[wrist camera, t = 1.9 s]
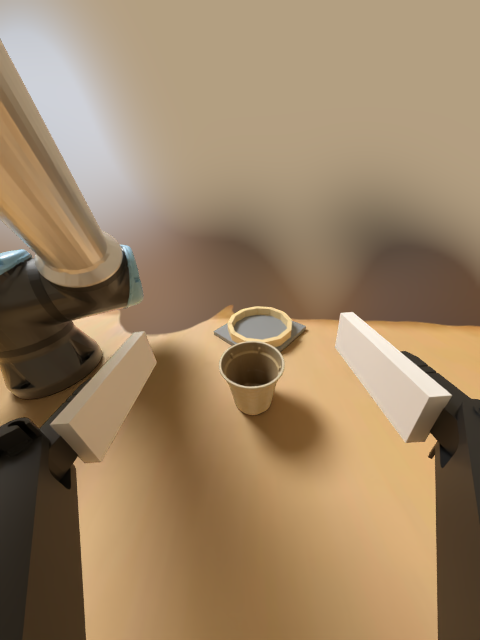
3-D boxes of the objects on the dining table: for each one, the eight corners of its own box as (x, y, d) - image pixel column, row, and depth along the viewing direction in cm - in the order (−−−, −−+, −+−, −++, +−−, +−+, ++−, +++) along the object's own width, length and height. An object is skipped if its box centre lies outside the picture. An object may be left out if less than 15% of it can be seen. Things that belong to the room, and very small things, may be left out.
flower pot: (226, 377, 37) (221, 342, 32) (276, 374, 36) (278, 338, 32) (223, 427, 29) (216, 390, 24) (287, 424, 29) (291, 386, 24)
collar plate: (214, 334, 48) (212, 324, 47) (256, 309, 57) (255, 300, 56) (264, 365, 38) (264, 354, 37) (305, 329, 48) (306, 319, 46)
